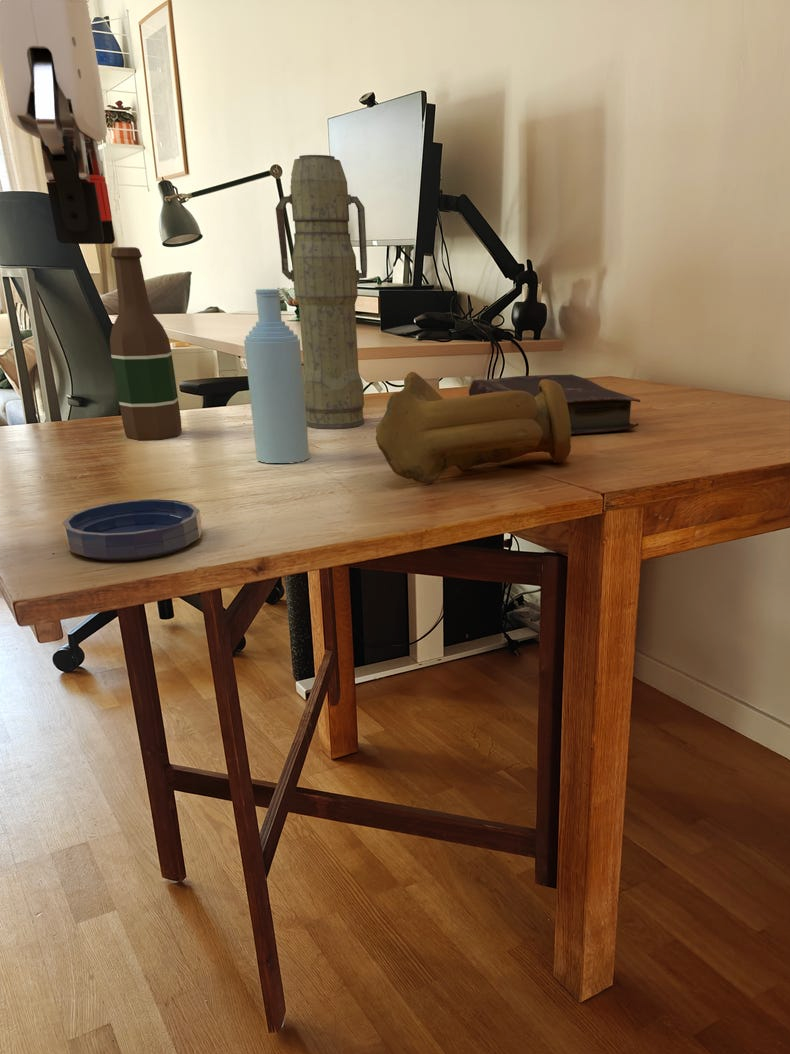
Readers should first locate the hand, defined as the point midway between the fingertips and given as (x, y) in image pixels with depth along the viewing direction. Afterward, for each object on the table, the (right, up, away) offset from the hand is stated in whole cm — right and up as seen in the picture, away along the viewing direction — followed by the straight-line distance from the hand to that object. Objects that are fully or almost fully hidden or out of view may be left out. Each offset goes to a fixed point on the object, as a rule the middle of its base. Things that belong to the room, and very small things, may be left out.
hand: (87, 240), depth 66 cm
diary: (+41, +3, +65) cm, 77 cm away
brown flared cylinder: (+30, -11, +34) cm, 47 cm away
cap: (0, +1, -1) cm, 1 cm away
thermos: (+8, +2, +63) cm, 64 cm away
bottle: (+6, -8, +41) cm, 42 cm away
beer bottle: (-16, -2, +55) cm, 57 cm away
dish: (0, -22, +10) cm, 24 cm away
